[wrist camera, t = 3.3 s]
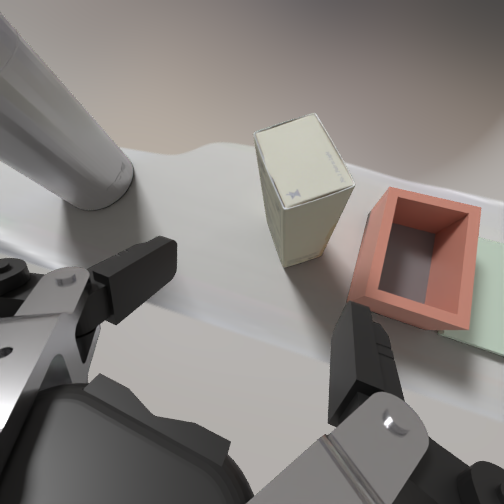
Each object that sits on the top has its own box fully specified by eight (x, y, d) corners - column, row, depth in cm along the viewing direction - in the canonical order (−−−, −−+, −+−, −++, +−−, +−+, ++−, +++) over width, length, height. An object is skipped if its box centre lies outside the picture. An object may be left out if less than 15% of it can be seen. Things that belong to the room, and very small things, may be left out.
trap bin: (346, 302, 22) (364, 295, 17) (368, 214, 25) (389, 186, 20) (425, 329, 21) (469, 330, 16) (440, 232, 23) (481, 207, 19)
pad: (437, 334, 20) (443, 334, 20) (451, 235, 23) (457, 231, 22) (516, 360, 19) (526, 362, 18) (521, 253, 22) (530, 250, 21)
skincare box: (322, 256, 24) (362, 189, 12) (281, 269, 24) (283, 213, 12) (300, 206, 26) (318, 108, 14) (263, 218, 26) (251, 129, 15)
